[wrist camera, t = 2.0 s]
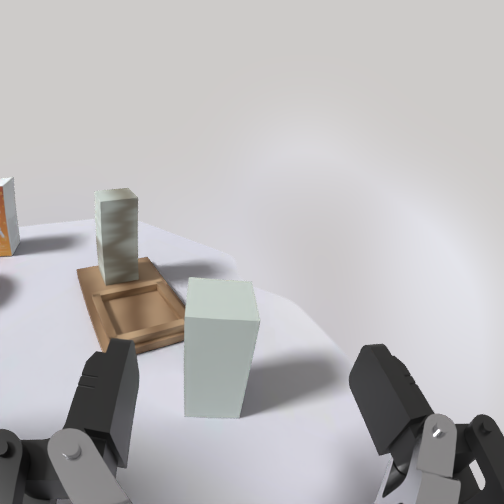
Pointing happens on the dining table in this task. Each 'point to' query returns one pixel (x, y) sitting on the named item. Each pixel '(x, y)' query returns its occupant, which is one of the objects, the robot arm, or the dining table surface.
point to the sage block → (218, 346)
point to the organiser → (127, 281)
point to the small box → (8, 218)
